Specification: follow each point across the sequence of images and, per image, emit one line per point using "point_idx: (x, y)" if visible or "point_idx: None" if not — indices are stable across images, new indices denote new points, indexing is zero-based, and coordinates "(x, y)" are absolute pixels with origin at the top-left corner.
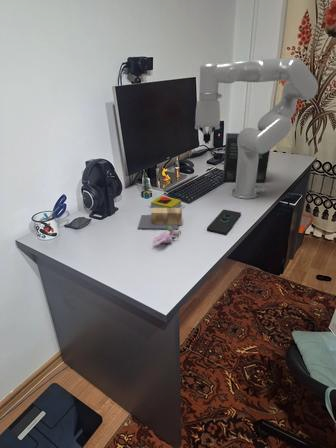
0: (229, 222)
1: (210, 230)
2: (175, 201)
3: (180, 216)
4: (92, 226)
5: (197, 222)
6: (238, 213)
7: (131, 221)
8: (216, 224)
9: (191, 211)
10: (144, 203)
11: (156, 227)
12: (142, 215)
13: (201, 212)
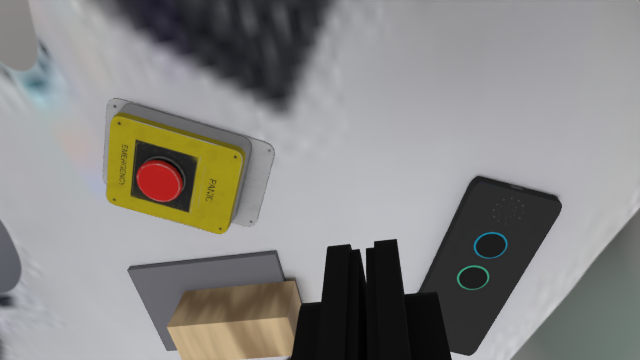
0: (492, 292)
1: None
2: (220, 175)
3: None
4: (21, 345)
5: None
6: (547, 214)
7: (117, 304)
8: None
9: (317, 197)
10: (65, 148)
11: None
12: (132, 273)
13: (366, 199)
